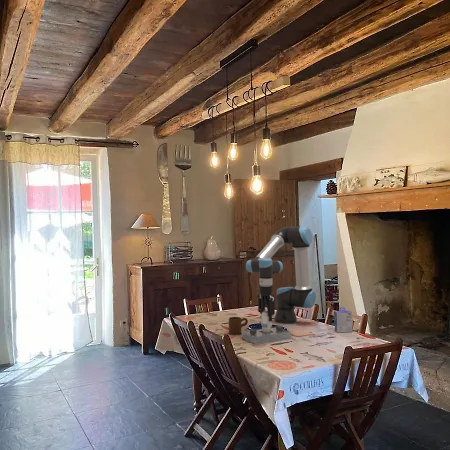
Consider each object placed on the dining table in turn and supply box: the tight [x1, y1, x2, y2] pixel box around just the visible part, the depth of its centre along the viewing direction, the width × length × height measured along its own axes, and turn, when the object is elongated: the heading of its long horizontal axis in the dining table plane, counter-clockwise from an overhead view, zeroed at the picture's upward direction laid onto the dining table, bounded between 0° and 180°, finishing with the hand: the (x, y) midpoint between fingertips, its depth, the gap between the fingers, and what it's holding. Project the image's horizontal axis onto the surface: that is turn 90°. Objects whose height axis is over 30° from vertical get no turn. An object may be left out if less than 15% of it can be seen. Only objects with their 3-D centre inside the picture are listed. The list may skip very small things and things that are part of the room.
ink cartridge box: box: [333, 306, 353, 333], centre depth 275 cm, size 10×6×14 cm, turn 97°
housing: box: [241, 326, 292, 345], centre depth 258 cm, size 14×24×4 cm, turn 118°
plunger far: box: [275, 325, 284, 331], centre depth 262 cm, size 4×4×5 cm
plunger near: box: [248, 328, 258, 335], centre depth 254 cm, size 4×4×5 cm
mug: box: [228, 316, 249, 336], centre depth 273 cm, size 12×8×9 cm, turn 104°
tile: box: [290, 329, 315, 338], centre depth 270 cm, size 12×12×1 cm
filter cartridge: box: [261, 309, 272, 334], centre depth 258 cm, size 5×5×15 cm
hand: (266, 325), depth 258 cm, fingers closed on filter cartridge, 5 cm apart
